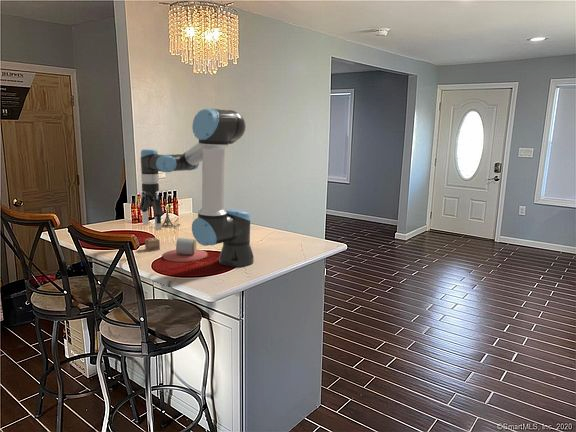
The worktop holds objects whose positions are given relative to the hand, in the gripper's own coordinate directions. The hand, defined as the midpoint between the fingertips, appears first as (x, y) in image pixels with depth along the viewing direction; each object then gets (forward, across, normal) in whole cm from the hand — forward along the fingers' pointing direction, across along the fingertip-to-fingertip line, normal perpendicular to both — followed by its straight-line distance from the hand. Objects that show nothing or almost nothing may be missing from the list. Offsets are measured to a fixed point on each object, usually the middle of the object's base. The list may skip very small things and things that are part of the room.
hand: (151, 227), depth 207 cm
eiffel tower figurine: (+12, +45, -30) cm, 55 cm away
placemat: (+11, -19, -7) cm, 23 cm away
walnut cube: (+11, 0, 0) cm, 11 cm away
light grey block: (+10, -18, -8) cm, 22 cm away
